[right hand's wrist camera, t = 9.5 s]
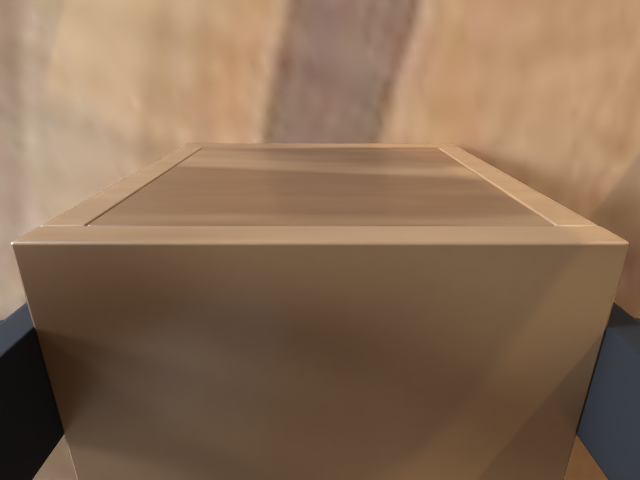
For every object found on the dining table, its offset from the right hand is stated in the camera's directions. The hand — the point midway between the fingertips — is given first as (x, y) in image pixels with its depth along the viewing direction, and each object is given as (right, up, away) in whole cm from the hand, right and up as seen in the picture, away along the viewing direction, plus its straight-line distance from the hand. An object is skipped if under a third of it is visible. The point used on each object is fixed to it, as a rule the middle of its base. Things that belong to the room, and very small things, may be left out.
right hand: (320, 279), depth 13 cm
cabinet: (0, -3, +8) cm, 9 cm away
